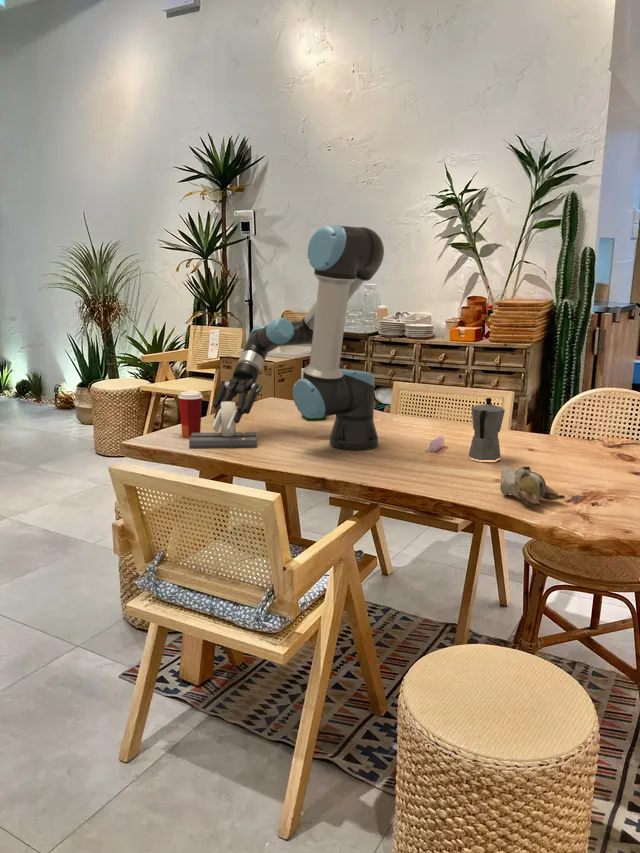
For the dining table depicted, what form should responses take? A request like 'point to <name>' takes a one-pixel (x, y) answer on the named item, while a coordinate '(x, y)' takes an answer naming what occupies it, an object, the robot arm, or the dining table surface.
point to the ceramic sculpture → (526, 485)
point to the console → (223, 440)
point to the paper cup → (190, 412)
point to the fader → (227, 417)
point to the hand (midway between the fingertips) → (222, 429)
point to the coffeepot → (486, 431)
